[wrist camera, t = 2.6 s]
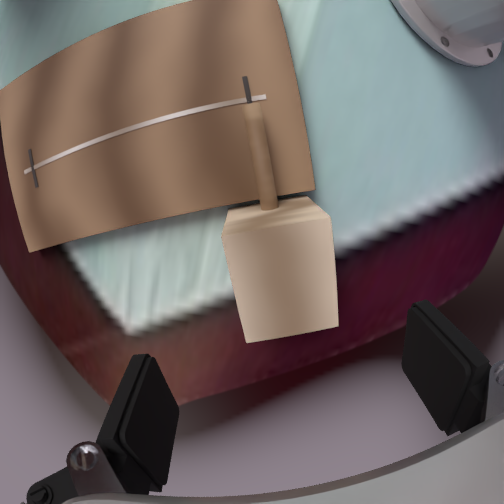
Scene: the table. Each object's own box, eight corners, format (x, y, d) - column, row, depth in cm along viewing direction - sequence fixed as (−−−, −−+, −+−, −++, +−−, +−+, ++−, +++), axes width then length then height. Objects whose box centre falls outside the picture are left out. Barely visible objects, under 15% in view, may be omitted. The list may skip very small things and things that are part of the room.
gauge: (290, 103, 17) (310, 85, 11) (315, 278, 21) (338, 326, 15) (210, 116, 17) (193, 103, 11) (246, 291, 21) (246, 342, 15)
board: (272, -5, 14) (273, -13, 13) (311, 187, 19) (315, 190, 18) (7, 92, 15) (-2, 91, 14) (37, 247, 20) (29, 252, 19)
